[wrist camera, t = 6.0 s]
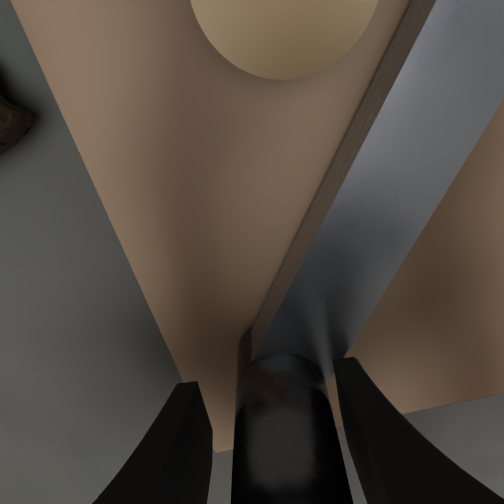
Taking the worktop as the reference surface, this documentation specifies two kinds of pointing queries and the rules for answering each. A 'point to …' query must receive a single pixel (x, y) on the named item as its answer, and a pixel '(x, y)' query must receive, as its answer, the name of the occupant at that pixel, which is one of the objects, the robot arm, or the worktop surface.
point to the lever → (360, 244)
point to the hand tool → (12, 124)
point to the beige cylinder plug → (283, 33)
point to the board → (263, 197)
